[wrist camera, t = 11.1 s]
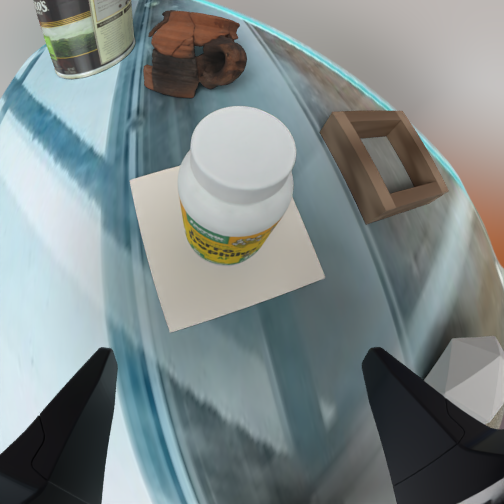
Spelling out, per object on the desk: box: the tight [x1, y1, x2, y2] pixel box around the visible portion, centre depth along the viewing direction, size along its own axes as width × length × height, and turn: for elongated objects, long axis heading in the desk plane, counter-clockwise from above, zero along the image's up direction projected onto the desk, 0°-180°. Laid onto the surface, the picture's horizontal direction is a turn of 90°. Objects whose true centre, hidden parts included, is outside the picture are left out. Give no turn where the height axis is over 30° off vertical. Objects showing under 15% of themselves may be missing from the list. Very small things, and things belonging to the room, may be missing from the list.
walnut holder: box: [320, 111, 448, 224], centre depth 23 cm, size 9×9×3 cm
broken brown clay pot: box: [144, 10, 247, 98], centre depth 22 cm, size 12×10×8 cm
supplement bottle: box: [178, 106, 296, 266], centre depth 15 cm, size 5×5×10 cm
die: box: [424, 336, 504, 424], centre depth 16 cm, size 8×9×10 cm
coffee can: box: [33, 0, 135, 79], centre depth 16 cm, size 10×10×14 cm
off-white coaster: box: [130, 166, 325, 333], centre depth 20 cm, size 11×11×1 cm
